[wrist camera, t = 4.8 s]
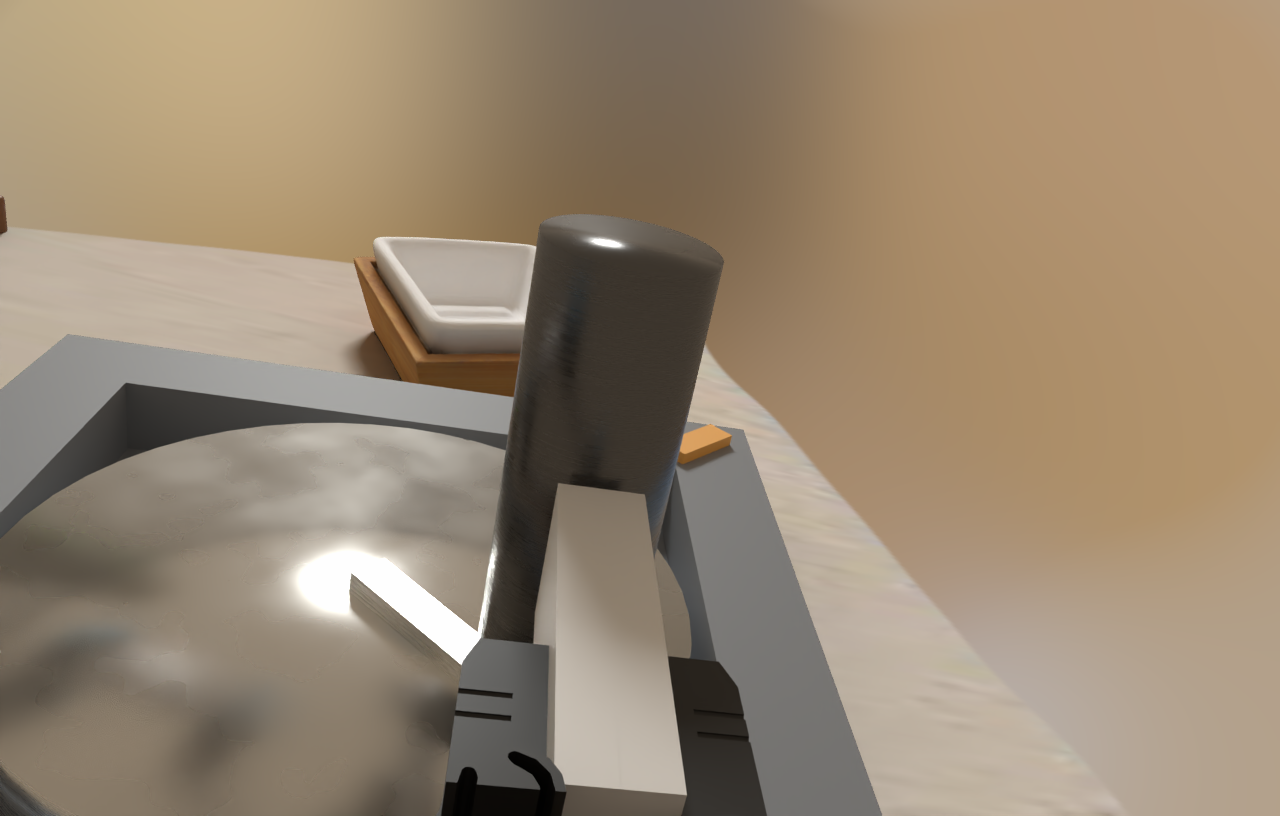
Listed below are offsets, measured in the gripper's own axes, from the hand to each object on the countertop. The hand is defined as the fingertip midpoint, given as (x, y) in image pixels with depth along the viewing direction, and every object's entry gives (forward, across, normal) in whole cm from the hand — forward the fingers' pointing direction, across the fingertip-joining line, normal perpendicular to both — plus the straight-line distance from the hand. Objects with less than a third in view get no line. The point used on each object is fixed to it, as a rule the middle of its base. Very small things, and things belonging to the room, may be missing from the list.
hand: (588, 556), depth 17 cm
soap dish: (+29, -3, -10) cm, 31 cm away
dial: (+7, -5, -8) cm, 11 cm away
